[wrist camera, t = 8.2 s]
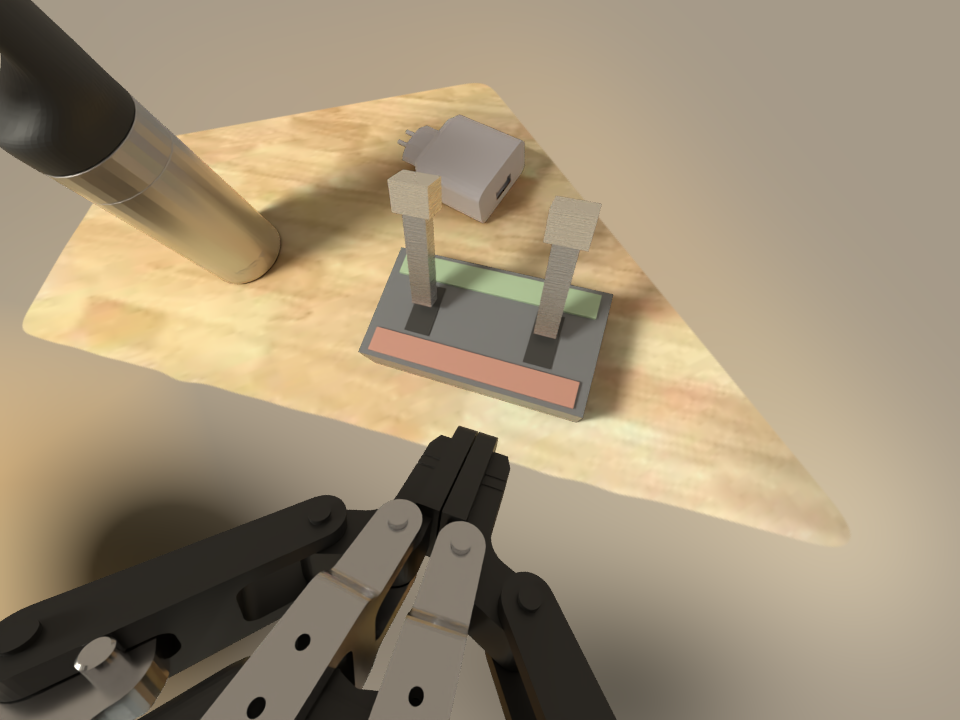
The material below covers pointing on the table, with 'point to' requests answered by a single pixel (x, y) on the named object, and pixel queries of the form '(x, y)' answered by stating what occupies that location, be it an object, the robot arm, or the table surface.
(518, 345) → the switch box
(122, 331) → the table surface
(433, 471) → the robot arm
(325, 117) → the table surface
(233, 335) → the table surface
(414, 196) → the lever on
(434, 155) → the charger
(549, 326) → the switch lever
